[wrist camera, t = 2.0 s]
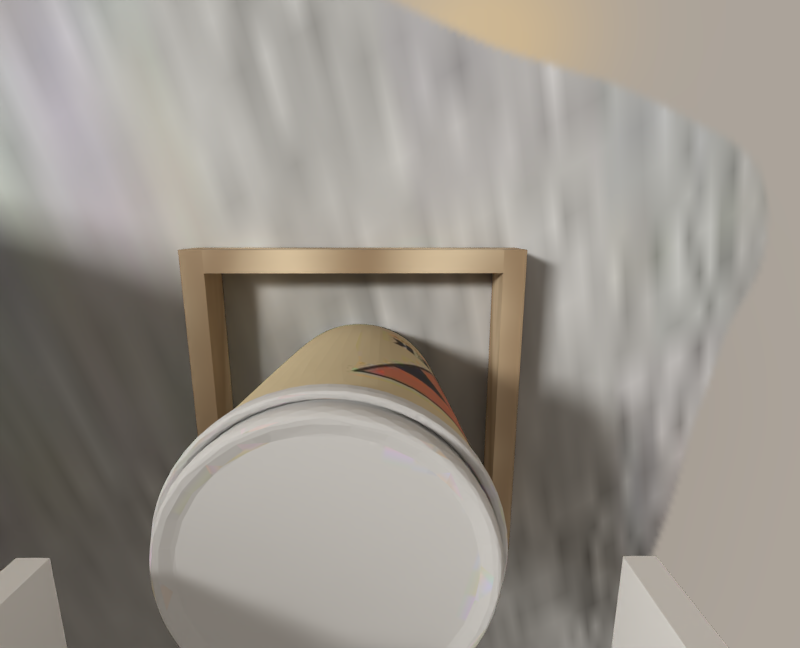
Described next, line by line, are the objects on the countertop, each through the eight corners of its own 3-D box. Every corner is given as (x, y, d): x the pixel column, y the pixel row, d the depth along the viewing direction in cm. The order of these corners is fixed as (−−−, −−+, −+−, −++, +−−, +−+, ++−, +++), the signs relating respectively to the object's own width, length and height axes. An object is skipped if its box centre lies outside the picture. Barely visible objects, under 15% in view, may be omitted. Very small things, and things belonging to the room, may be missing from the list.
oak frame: (224, 526, 24) (210, 553, 22) (198, 247, 21) (178, 249, 19) (499, 523, 24) (508, 549, 22) (514, 247, 21) (527, 250, 19)
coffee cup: (476, 441, 23) (563, 660, 12) (314, 502, 24) (240, 769, 12) (412, 277, 21) (437, 340, 10) (236, 347, 22) (59, 488, 10)
